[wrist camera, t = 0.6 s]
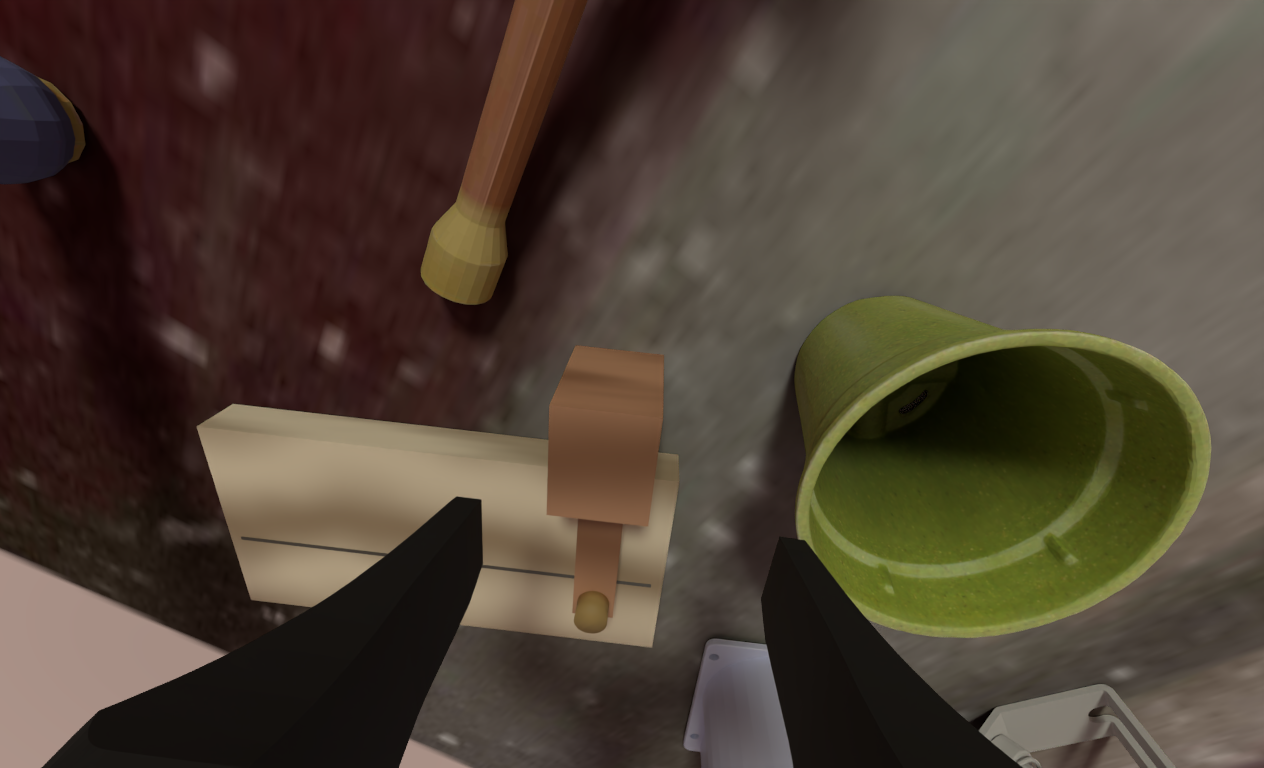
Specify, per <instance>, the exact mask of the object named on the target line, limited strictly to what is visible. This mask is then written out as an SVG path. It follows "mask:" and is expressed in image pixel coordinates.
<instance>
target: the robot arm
mask: <svg viewBox="0 0 1264 768" xmlns="http://www.w3.org/2000/svg"><path fill="white" fill-rule="evenodd" d="M482 565H483V541H482V499H474V498H466V497H458V496H456V497H455V498H454V499H452V500H451V501H450V502H449V503H447V504H446V505H445V506H444V507H443V508H442V509H441V510H439V511H438V512H437V513H436V514H435V515H434V516H433V517H431V518H430V519H429V520H428V521H427V522H426V523H424V524H423V525H422V526H421V527H420V528H419V529H417V530H416V531H415V532H414V533H413V534H412V535H410V536H409V537H408V538H407V539H405V540H404V541H403V542H402V543H401V544H399V545H398V546H397V547H396V548H394V549H393V550H392V551H391V552H389V553H388V554H387V555H386V556H384V557H383V558H382V559H381V560H379V561H378V562H377V563H375V564H374V565H372V566H371V567H370V568H368V569H367V570H366V571H364V572H363V573H362V574H360V575H359V576H358V577H356V578H355V579H354V580H352V581H351V582H349V583H348V584H347V585H345V586H344V587H342V588H341V589H339V590H338V591H336V592H335V593H334V594H332V595H331V596H329V597H328V598H326V599H324V600H323V601H321V602H320V603H318V604H317V605H315V606H313V607H312V608H310V609H309V610H307V611H305V612H304V613H302V614H300V615H299V616H297V617H295V618H293V619H292V620H290V621H288V622H286V623H285V624H283V625H281V626H279V627H277V628H276V629H274V630H272V631H270V632H269V633H267V634H265V635H263V636H261V637H260V638H258V639H256V640H254V641H252V642H251V643H249V644H247V645H245V646H243V647H241V648H239V649H237V650H235V651H233V652H231V653H229V654H227V655H225V656H223V657H221V658H219V659H217V660H215V661H213V662H211V663H208V664H206V665H204V666H202V667H200V668H198V669H196V670H194V671H192V672H189V673H187V674H185V675H183V676H181V677H179V678H176V679H174V680H172V681H170V682H167V683H165V684H162V685H160V686H157V687H155V688H153V689H150V690H148V691H146V692H143V693H141V694H139V695H136V696H134V697H131V698H129V699H127V700H124V701H122V702H119V703H117V704H115V705H112V706H110V707H107V708H105V709H102V710H100V711H98V712H97V713H96V714H95V715H94V716H93V717H92V718H91V719H90V720H89V721H88V722H87V723H86V724H85V725H84V726H83V727H82V728H81V729H80V730H79V731H78V732H77V733H76V734H74V735H73V736H72V737H71V739H70V740H68V742H67V743H66V744H65V745H64V746H63V747H62V748H61V749H60V750H59V751H58V752H57V753H56V754H55V755H54V756H53V757H52V758H51V759H50V760H49V761H48V762H47V763H46V764H45V765H44V766H43V767H42V768H399V765H400V762H401V760H402V757H403V754H404V751H405V749H406V746H407V743H408V741H409V738H410V735H411V733H412V730H413V727H414V724H415V722H416V719H417V716H418V714H419V712H420V709H421V707H422V705H423V702H424V700H425V698H426V695H427V693H428V691H429V689H430V687H431V685H432V682H433V680H434V678H435V676H436V674H437V672H438V670H439V668H440V666H441V663H442V661H443V659H444V657H445V655H446V653H447V651H448V649H449V647H450V644H451V642H452V640H453V638H454V636H455V634H456V632H457V630H458V627H459V625H460V623H461V621H462V619H463V617H464V615H465V612H466V610H467V608H468V606H469V604H470V601H471V598H472V595H473V592H474V589H475V586H476V583H477V580H478V577H479V574H480V571H481V568H482ZM761 602H762V613H763V623H764V632H765V640H766V644H758V643H750V642H741V641H733V640H724V639H710V640H708V641H707V642H706V644H705V649H704V653H703V657H702V662H701V666H700V670H699V675H698V679H697V683H696V688H695V692H694V696H693V701H692V705H691V709H690V714H689V718H688V722H687V727H686V731H685V735H684V747H685V748H686V749H687V750H690V751H697V752H700V753H701V768H1023V767H1022V766H1020V765H1019V764H1018V763H1017V762H1015V761H1014V760H1013V759H1012V758H1010V757H1009V756H1008V755H1007V754H1005V753H1004V752H1003V751H1002V750H1001V749H999V748H998V747H997V746H996V745H994V744H993V743H992V742H991V741H990V740H988V739H987V738H986V737H985V736H984V735H983V734H982V733H980V732H979V731H978V730H977V729H976V728H975V727H974V726H972V725H971V724H970V723H969V722H968V721H967V720H966V719H964V718H963V717H962V716H961V715H960V714H959V713H958V712H956V711H955V710H954V709H953V708H952V707H951V706H950V705H949V704H948V703H947V702H946V701H944V700H943V699H942V698H941V697H940V696H939V695H938V694H937V693H936V692H935V691H934V690H933V689H932V688H931V687H930V686H929V685H928V684H927V683H926V682H925V681H924V680H923V679H922V678H921V677H920V676H919V675H918V674H917V673H916V672H915V671H914V670H913V669H912V668H911V667H910V666H909V665H908V664H907V663H906V662H905V661H904V660H903V659H902V658H901V657H900V656H899V655H898V654H897V653H896V651H895V650H894V649H893V648H892V647H891V646H890V645H889V644H888V643H887V641H886V640H885V639H884V638H883V637H882V636H881V635H880V634H879V633H878V631H877V630H876V629H875V628H874V627H873V626H872V625H871V623H870V622H869V621H868V620H867V619H866V617H865V616H864V615H863V614H862V613H861V611H860V610H859V609H858V608H857V607H856V605H855V604H854V603H853V602H852V600H851V599H850V598H849V597H848V595H847V594H846V593H845V592H844V590H843V589H842V588H841V587H840V585H839V584H838V583H837V581H836V580H835V579H834V577H833V576H832V575H831V574H830V572H829V571H828V570H827V568H826V567H825V566H824V564H823V563H822V562H821V560H820V559H819V558H818V556H817V555H816V554H815V552H814V551H813V550H812V548H811V547H810V546H809V545H808V543H807V542H806V541H805V540H800V539H792V538H784V537H779V540H778V544H777V547H776V550H775V554H774V557H773V560H772V564H771V567H770V571H769V574H768V577H767V581H766V584H765V587H764V591H763V594H762V597H761Z"/></svg>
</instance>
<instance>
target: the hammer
mask: <svg viewBox="0 0 1264 768" xmlns="http://www.w3.org/2000/svg"><path fill="white" fill-rule="evenodd" d="M587 1H588V0H515V3H514V6H513V9H512V13H511V16H510V20H509V23H508V26H507V30H506V33H505V37H504V40H503V44H502V47H501V50H500V54H499V57H498V61H497V64H496V68H495V71H494V74H493V78H492V81H491V85H490V88H489V92H488V95H487V98H486V102H485V105H484V109H483V112H482V115H481V119H480V122H479V126H478V129H477V133H476V136H475V139H474V143H473V146H472V150H471V153H470V157H469V160H468V163H467V167H466V170H465V174H464V177H463V180H462V184H461V187H460V191H459V194H458V198H457V201H456V203H455V204H454V205H453V206H452V207H451V208H450V209H449V210H448V211H447V212H446V213H445V214H444V215H443V216H442V217H441V218H440V219H439V220H438V221H437V222H436V223H435V225H434V226H433V227H432V230H431V234H430V237H429V241H428V245H427V248H426V252H425V256H424V259H423V263H422V267H421V276H422V278H423V280H424V282H425V284H426V285H427V286H428V287H429V288H430V289H431V290H432V291H434V292H435V293H437V294H439V295H440V296H442V297H444V298H446V299H448V300H451V301H453V302H457V303H462V304H467V305H477V304H481V303H485V302H487V301H488V300H489V299H491V297H492V295H493V292H494V290H495V287H496V285H497V282H498V279H499V277H500V274H501V272H502V269H503V267H504V264H505V262H506V259H507V256H508V252H507V241H506V230H505V220H506V218H507V215H508V212H509V210H510V207H511V204H512V202H513V199H514V196H515V194H516V191H517V188H518V185H519V183H520V180H521V177H522V175H523V172H524V169H525V167H526V164H527V161H528V159H529V156H530V153H531V151H532V148H533V145H534V143H535V140H536V137H537V135H538V132H539V129H540V127H541V124H542V121H543V118H544V116H545V113H546V110H547V108H548V105H549V102H550V100H551V97H552V94H553V92H554V89H555V86H556V84H557V81H558V78H559V76H560V73H561V70H562V68H563V65H564V62H565V59H566V57H567V54H568V51H569V49H570V46H571V43H572V41H573V38H574V35H575V33H576V30H577V27H578V25H579V22H580V19H581V17H582V14H583V11H584V9H585V6H586V3H587Z"/></svg>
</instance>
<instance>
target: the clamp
mask: <svg viewBox="0 0 1264 768" xmlns="http://www.w3.org/2000/svg"><path fill="white" fill-rule="evenodd" d="M1102 706H1109V707H1111V709H1112V710H1113V711H1114V713H1115V714H1116V715H1117V716H1118V718H1119V719H1120V720H1121V721H1120V720H1119V719H1118V718H1116V717H1114V716H1111V715H1102V716H1097V717H1090V716H1088V714H1089V712H1090V711H1091V710H1093V709H1094V708H1097V707H1102ZM1123 724H1124V725H1125V726H1124V725H1123ZM1126 728H1127V729H1128V730H1127V729H1126ZM979 732H980V733H982V734H983V735H984V736H985V737H986V738H987V739H988V740H990V741H991V742H992V743H993V744H994V745H996V746H997V747H998V748H999V749H1001V750H1002V751H1003V752H1004V753H1005V754H1007V755H1008V756H1009V757H1010V758H1012V759H1013V760H1014V761H1015V762H1017V763H1018V764H1019V765H1020V766H1022V767H1023V768H1034V767H1032V762H1033V763H1035V764H1036V767H1037V768H1042V767H1041V765H1040V763H1039V762H1038V761H1037V760H1036V759H1035V758H1032V757H1031V754H1030V753H1029V752H1034V751H1039V750H1044V749H1049V748H1054V747H1059V746H1064V745H1069V744H1074V743H1079V742H1084V741H1089V740H1094V739H1098V738H1103V737H1108V736H1113V735H1114V736H1116V737H1117V738H1118V739H1119V740H1120V742H1121V743H1122V744H1123V746H1124V747H1125V748H1126V750H1127V751H1128V752H1129V754H1130V755H1131V756H1132V758H1133V759H1134V760H1135V762H1136V763H1137V764H1138V766H1139V767H1140V768H1176V767H1175V766H1174V764H1173V763H1172V762H1171V761H1170V759H1169V758H1168V757H1167V756H1166V754H1165V753H1164V752H1163V751H1162V749H1161V748H1160V747H1159V746H1158V744H1157V743H1156V742H1155V741H1154V740H1153V738H1152V737H1151V736H1150V735H1149V733H1148V732H1147V731H1146V730H1145V728H1144V727H1143V726H1142V725H1141V723H1140V722H1139V721H1138V720H1137V718H1136V717H1135V716H1134V715H1133V713H1132V712H1131V711H1130V710H1129V708H1128V707H1127V706H1126V705H1125V703H1124V702H1123V701H1122V700H1121V698H1120V697H1119V696H1118V695H1117V693H1116V692H1115V691H1114V690H1113V689H1112V688H1111V687H1109V686H1107V685H1104V684H1096V685H1092V686H1088V687H1083V688H1079V689H1074V690H1070V691H1065V692H1061V693H1057V694H1052V695H1048V696H1043V697H1039V698H1034V699H1030V700H1025V701H1021V702H1017V703H1012V704H1008V705H1003V706H999V707H996V708H995V709H994V710H993V711H992V713H991V714H990V716H989V717H988V718H987V720H986V721H985V723H984V724H983V725H982V727H981V728H980V730H979ZM1129 732H1130V733H1131V734H1132V735H1131V734H1130V733H1129ZM1133 737H1134V738H1135V739H1134V738H1133ZM1136 741H1137V742H1138V743H1137V742H1136ZM1140 746H1141V747H1142V748H1141V747H1140ZM1143 750H1144V751H1145V752H1144V751H1143ZM1147 755H1148V756H1149V757H1148V756H1147ZM1150 759H1151V760H1152V761H1151V760H1150ZM1153 763H1154V764H1155V765H1156V766H1155V765H1154V764H1153Z"/></svg>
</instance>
